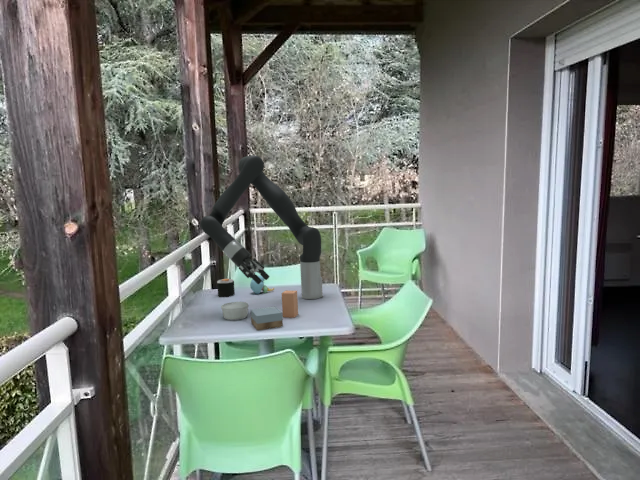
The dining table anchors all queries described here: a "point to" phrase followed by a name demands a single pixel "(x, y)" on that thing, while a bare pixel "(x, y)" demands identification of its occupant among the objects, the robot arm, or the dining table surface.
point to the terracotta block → (289, 304)
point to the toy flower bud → (259, 286)
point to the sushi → (225, 287)
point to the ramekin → (235, 310)
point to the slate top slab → (266, 315)
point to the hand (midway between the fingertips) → (264, 280)
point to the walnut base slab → (266, 324)
